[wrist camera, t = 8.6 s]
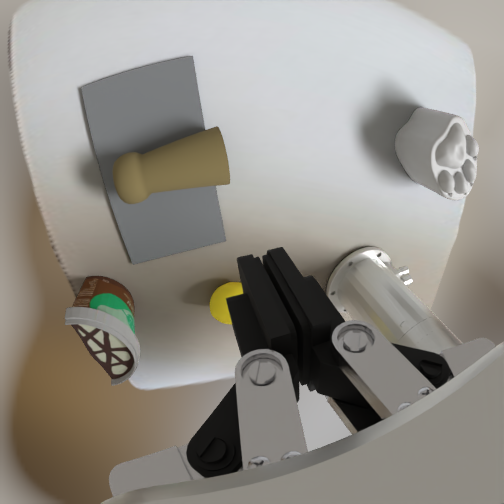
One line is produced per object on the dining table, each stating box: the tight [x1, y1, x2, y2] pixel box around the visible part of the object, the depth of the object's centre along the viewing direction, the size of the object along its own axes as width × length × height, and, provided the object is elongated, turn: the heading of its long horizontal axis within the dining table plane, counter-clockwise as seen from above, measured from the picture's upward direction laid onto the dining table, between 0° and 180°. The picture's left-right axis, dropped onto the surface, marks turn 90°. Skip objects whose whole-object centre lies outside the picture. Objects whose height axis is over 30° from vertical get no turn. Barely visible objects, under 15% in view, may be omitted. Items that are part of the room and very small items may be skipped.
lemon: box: [209, 282, 243, 324], centre depth 38 cm, size 7×5×5 cm
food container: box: [65, 276, 141, 385], centre depth 32 cm, size 12×6×10 cm, turn 7°
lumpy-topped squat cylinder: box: [395, 107, 479, 200], centre depth 33 cm, size 10×13×9 cm
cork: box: [113, 127, 230, 204], centre depth 27 cm, size 6×6×11 cm
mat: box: [81, 56, 226, 264], centre depth 29 cm, size 12×22×1 cm, turn 7°
